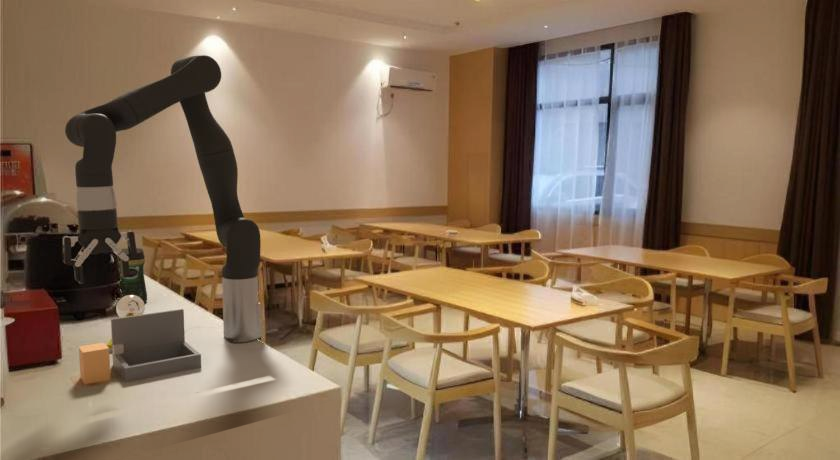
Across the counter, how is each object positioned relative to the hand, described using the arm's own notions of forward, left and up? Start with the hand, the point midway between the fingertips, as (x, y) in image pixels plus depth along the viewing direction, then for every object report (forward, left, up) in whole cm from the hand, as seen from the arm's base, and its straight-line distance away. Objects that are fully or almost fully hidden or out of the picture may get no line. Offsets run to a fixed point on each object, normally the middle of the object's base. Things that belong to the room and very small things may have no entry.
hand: (102, 280), depth 132 cm
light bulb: (-11, -27, -22) cm, 36 cm away
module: (+3, +3, -21) cm, 21 cm away
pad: (+3, +3, -22) cm, 22 cm away
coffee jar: (-20, -69, -22) cm, 75 cm away
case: (-10, +3, -22) cm, 24 cm away
